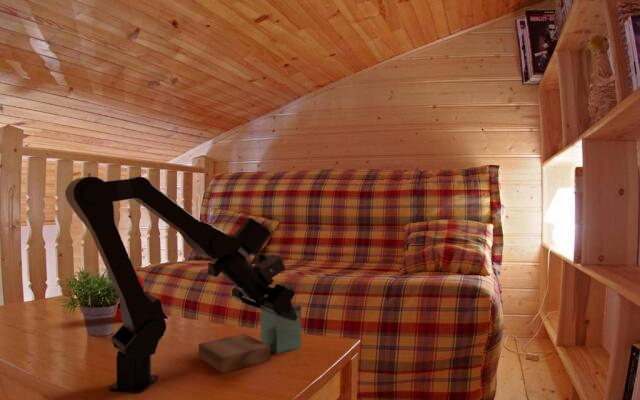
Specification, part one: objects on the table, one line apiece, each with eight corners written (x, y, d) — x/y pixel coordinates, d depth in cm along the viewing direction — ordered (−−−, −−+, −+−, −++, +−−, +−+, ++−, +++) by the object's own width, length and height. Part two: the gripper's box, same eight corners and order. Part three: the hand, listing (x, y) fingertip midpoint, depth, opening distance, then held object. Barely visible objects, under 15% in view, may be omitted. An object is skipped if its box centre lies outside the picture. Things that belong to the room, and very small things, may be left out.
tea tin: (276, 353, 101) (276, 310, 100) (261, 346, 106) (260, 305, 106) (301, 347, 105) (300, 305, 105) (284, 340, 110) (284, 300, 110)
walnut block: (222, 373, 90) (222, 358, 90) (198, 357, 98) (198, 343, 98) (270, 360, 97) (270, 346, 97) (244, 346, 105) (244, 333, 105)
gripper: (287, 247, 95) (329, 293, 102) (242, 240, 109) (281, 281, 116) (254, 291, 90) (300, 336, 97) (212, 278, 105) (255, 317, 112)
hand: (284, 314), depth 106 cm, fingers open, 9 cm apart
